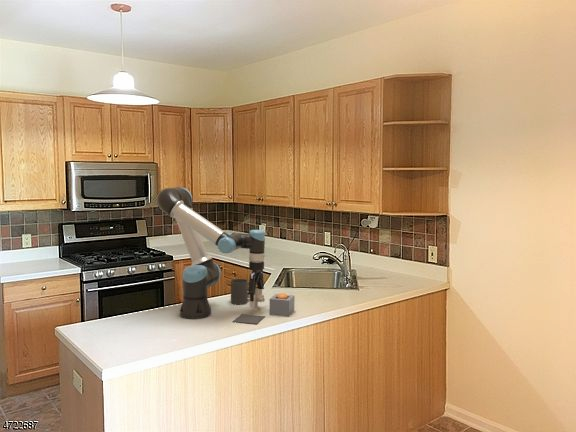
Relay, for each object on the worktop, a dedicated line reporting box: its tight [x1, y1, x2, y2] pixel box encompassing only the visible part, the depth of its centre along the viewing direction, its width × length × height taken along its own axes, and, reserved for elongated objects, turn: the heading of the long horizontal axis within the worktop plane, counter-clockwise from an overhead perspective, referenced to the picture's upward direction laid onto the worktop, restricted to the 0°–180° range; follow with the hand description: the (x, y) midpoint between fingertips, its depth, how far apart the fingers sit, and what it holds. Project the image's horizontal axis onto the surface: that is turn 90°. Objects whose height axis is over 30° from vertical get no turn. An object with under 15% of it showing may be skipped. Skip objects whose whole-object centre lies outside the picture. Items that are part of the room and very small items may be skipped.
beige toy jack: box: [247, 287, 266, 309], centre depth 247 cm, size 10×10×10 cm
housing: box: [269, 293, 296, 317], centre depth 245 cm, size 10×10×8 cm
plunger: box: [276, 293, 288, 299], centre depth 244 cm, size 5×5×2 cm
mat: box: [232, 313, 266, 326], centre depth 234 cm, size 12×12×1 cm
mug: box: [230, 278, 249, 306], centre depth 264 cm, size 14×9×12 cm
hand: (255, 304), depth 247 cm, fingers closed on beige toy jack, 10 cm apart
